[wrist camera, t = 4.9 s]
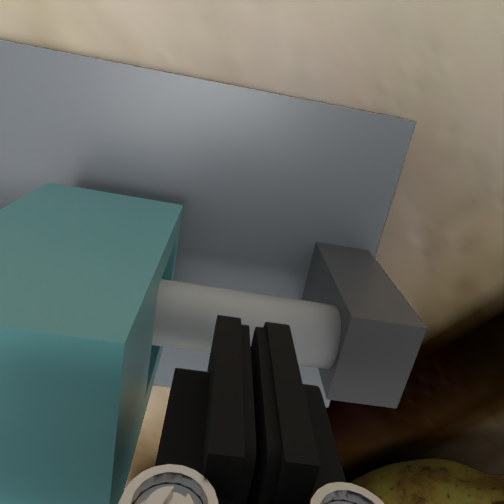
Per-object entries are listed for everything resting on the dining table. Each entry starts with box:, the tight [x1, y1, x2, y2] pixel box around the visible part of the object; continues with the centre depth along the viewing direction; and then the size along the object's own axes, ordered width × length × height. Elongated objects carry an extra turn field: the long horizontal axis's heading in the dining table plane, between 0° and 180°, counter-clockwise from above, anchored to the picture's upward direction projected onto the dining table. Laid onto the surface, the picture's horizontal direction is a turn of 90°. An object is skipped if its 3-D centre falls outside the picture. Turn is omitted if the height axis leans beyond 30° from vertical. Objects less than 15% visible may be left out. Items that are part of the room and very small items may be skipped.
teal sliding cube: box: [0, 182, 183, 504], centre depth 11 cm, size 4×5×8 cm
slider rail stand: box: [0, 39, 427, 408], centre depth 13 cm, size 22×12×7 cm, turn 79°
